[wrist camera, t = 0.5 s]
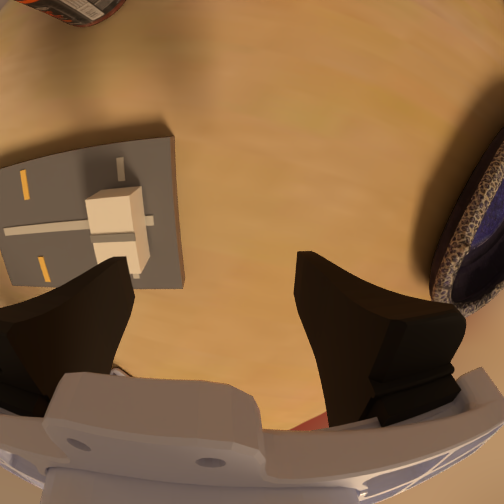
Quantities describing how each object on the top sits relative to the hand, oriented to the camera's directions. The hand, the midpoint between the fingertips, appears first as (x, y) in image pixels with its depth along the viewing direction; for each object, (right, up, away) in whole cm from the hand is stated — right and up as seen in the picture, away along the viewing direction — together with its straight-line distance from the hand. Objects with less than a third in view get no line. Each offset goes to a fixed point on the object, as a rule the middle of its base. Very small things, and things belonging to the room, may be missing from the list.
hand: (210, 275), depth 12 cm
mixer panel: (-13, +4, +8) cm, 15 cm away
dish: (+29, +7, +10) cm, 32 cm away
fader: (-7, +3, +6) cm, 10 cm away
